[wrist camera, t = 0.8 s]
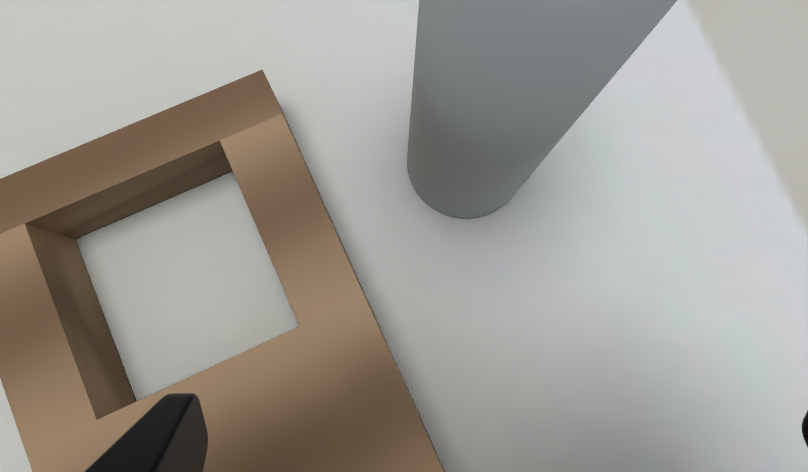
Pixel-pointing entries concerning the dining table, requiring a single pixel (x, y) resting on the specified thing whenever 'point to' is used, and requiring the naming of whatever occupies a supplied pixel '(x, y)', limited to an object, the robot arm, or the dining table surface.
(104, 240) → the dining table surface
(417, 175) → the peg
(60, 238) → the socket block
